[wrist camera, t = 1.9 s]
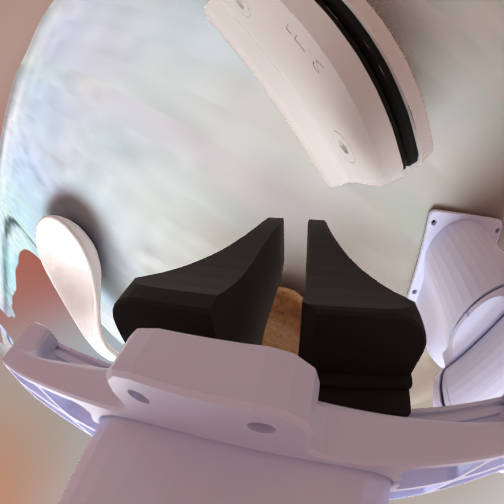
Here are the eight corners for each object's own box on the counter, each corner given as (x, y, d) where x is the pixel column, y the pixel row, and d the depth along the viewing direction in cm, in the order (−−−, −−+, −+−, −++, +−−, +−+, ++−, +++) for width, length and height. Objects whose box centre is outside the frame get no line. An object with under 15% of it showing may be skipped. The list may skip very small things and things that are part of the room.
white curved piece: (203, 13, 15) (181, -63, 6) (256, -13, 14) (270, -92, 5) (327, 188, 20) (394, 227, 11) (376, 158, 20) (462, 177, 10)
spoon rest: (41, 222, 31) (6, 249, 26) (78, 188, 26) (32, 217, 21) (131, 345, 41) (110, 379, 35) (184, 342, 36) (162, 384, 30)
